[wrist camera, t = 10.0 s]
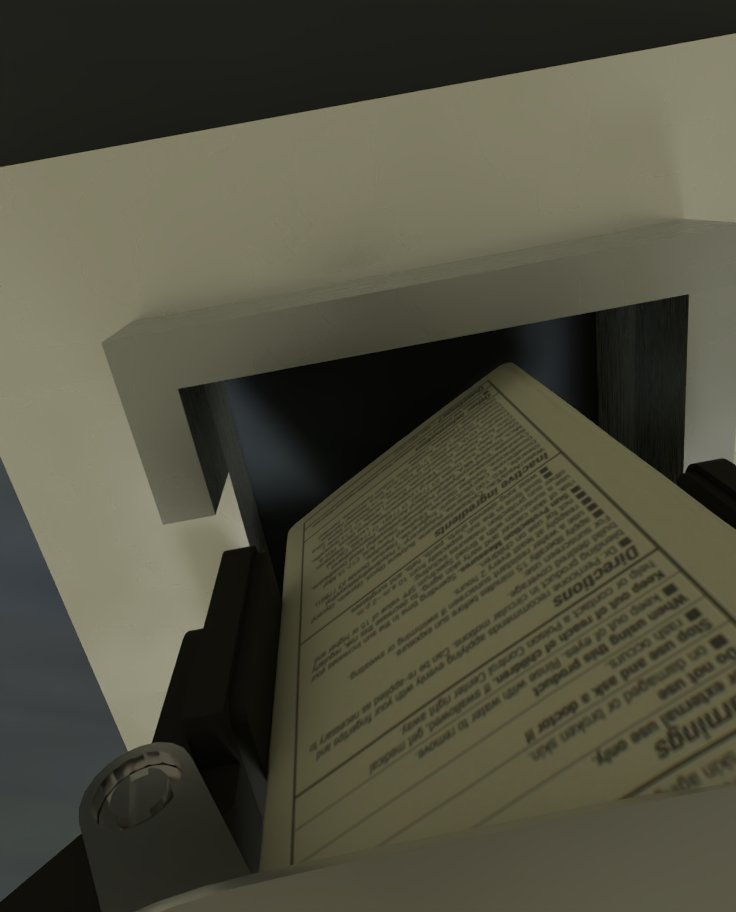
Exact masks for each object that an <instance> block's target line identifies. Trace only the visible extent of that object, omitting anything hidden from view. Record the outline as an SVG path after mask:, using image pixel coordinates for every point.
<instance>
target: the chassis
mask: <svg viewBox="0 0 736 912" xmlns="http://www.w3.org/2000/svg"><path fill="white" fill-rule="evenodd" d="M595 311H596V347H597V386H598V424H599V427H600V428H601V429H602V430H603V431H605V432H606V433H607V434H608V435H610V436H611V437H612V438H614V439H615V440H616V441H618V442H619V443H621V444H622V445H623V446H625V447H626V448H627V449H629V450H630V451H631V452H633V453H634V454H635V455H637V456H638V457H639V458H641V459H642V460H643V461H645V462H646V463H648V464H649V465H650V466H652V467H653V468H654V469H656V470H657V471H658V472H660V473H661V474H662V475H664V476H665V477H666V478H668V479H669V480H670V481H672V482H673V483H674V484H676V485H677V481H678V477H679V475H681V474H682V473H685V471H686V469H687V467H688V466H689V465H690V464H693V463H699V462H704V461H709V460H715V459H720V458H724V459H727V460H729V461H730V462H732V463H733V464H735V465H736V33H735V34H730V35H724V36H719V37H713V38H708V39H702V40H697V41H691V42H686V43H680V44H675V45H669V46H664V47H658V48H653V49H647V50H642V51H636V52H631V53H625V54H620V55H614V56H609V57H603V58H598V59H592V60H587V61H581V62H576V63H570V64H565V65H559V66H554V67H548V68H543V69H537V70H532V71H526V72H521V73H515V74H510V75H504V76H499V77H493V78H488V79H482V80H477V81H471V82H466V83H460V84H455V85H449V86H444V87H438V88H433V89H427V90H422V91H416V92H411V93H405V94H400V95H394V96H389V97H383V98H378V99H372V100H367V101H361V102H356V103H350V104H345V105H340V106H334V107H329V108H323V109H318V110H312V111H307V112H301V113H296V114H290V115H285V116H279V117H274V118H268V119H263V120H257V121H252V122H246V123H241V124H235V125H230V126H224V127H219V128H213V129H208V130H202V131H197V132H191V133H186V134H180V135H175V136H169V137H164V138H158V139H153V140H147V141H142V142H136V143H131V144H125V145H120V146H114V147H109V148H103V149H98V150H92V151H87V152H81V153H76V154H70V155H65V156H59V157H54V158H48V159H43V160H37V161H32V162H26V163H21V164H15V165H10V166H4V167H0V457H1V459H2V461H3V464H4V466H5V468H6V471H7V473H8V475H9V477H10V480H11V482H12V484H13V487H14V489H15V491H16V494H17V496H18V498H19V501H20V503H21V505H22V507H23V510H24V512H25V514H26V517H27V519H28V521H29V524H30V526H31V528H32V531H33V533H34V535H35V537H36V540H37V542H38V544H39V547H40V549H41V551H42V554H43V556H44V558H45V561H46V563H47V565H48V567H49V570H50V572H51V574H52V577H53V579H54V581H55V584H56V586H57V588H58V591H59V593H60V595H61V597H62V600H63V602H64V604H65V607H66V609H67V611H68V614H69V616H70V618H71V621H72V623H73V625H74V627H75V630H76V632H77V634H78V637H79V639H80V641H81V644H82V646H83V648H84V651H85V653H86V655H87V657H88V660H89V662H90V664H91V667H92V669H93V671H94V674H95V676H96V678H97V681H98V683H99V685H100V687H101V690H102V692H103V694H104V697H105V699H106V701H107V704H108V706H109V708H110V711H111V713H112V715H113V717H114V720H115V722H116V724H117V727H118V729H119V731H120V734H121V736H122V738H123V741H124V743H125V745H126V747H127V750H128V751H130V750H132V749H135V748H137V747H139V746H142V745H146V744H151V743H152V740H153V737H154V733H155V730H156V727H157V723H158V720H159V717H160V713H161V710H162V707H163V703H164V700H165V697H166V693H167V690H168V687H169V683H170V680H171V677H172V673H173V670H174V667H175V663H176V660H177V657H178V653H179V650H180V647H181V643H182V640H183V638H184V635H185V633H187V632H188V631H191V630H196V629H201V628H203V627H204V623H205V620H206V616H207V612H208V608H209V604H210V600H211V597H212V593H213V589H214V585H215V581H216V577H217V573H218V570H219V566H220V562H221V558H222V554H223V552H224V551H227V550H232V549H238V548H243V547H248V546H254V545H255V546H256V548H257V550H258V552H265V551H268V553H269V550H268V546H267V543H266V539H265V535H264V531H263V528H262V524H261V520H260V516H259V513H258V509H257V505H256V502H255V498H254V494H253V490H252V487H251V483H250V479H249V475H248V472H247V468H246V464H245V461H244V457H243V453H242V449H241V446H240V442H239V438H238V434H237V431H236V427H235V423H234V419H233V416H232V412H231V408H230V405H229V401H228V397H227V393H226V390H225V386H224V382H223V380H228V379H234V378H239V377H245V376H250V375H255V374H261V373H266V372H271V371H277V370H282V369H288V368H293V367H298V366H304V365H309V364H315V363H320V362H325V361H331V360H336V359H342V358H347V357H352V356H358V355H363V354H369V353H374V352H379V351H385V350H390V349H395V348H401V347H406V346H412V345H417V344H422V343H428V342H433V341H439V340H444V339H449V338H455V337H460V336H466V335H471V334H476V333H482V332H487V331H493V330H498V329H503V328H509V327H514V326H519V325H525V324H530V323H536V322H541V321H546V320H552V319H557V318H563V317H568V316H573V315H579V314H584V313H590V312H595ZM269 555H270V554H269ZM271 562H272V561H271ZM274 573H275V572H274ZM278 588H279V587H278Z"/></svg>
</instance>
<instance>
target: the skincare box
mask: <svg viewBox="0 0 736 912" xmlns="http://www.w3.org/2000/svg"><path fill="white" fill-rule="evenodd" d="M733 783H736V529H734V528H733V527H731V526H730V525H728V524H727V523H726V522H724V521H723V520H721V519H720V518H719V517H717V516H716V515H715V514H713V513H712V512H711V511H710V510H708V509H707V508H706V507H704V506H703V505H702V504H700V503H699V502H698V501H696V500H695V499H694V498H693V497H691V496H690V495H689V494H687V493H686V492H685V491H683V490H682V489H681V488H680V487H678V486H677V485H676V484H674V483H673V482H672V481H670V480H669V479H668V478H666V477H665V476H664V475H662V474H661V473H660V472H658V471H657V470H656V469H654V468H653V467H652V466H650V465H649V464H648V463H646V462H645V461H643V460H642V459H641V458H639V457H638V456H637V455H635V454H634V453H633V452H631V451H630V450H629V449H627V448H626V447H625V446H623V445H622V444H621V443H619V442H618V441H616V440H615V439H614V438H612V437H611V436H610V435H608V434H607V433H606V432H605V431H603V430H602V429H601V428H600V427H598V426H597V425H596V424H594V423H593V422H592V421H590V420H589V419H588V418H586V417H585V416H584V415H582V414H581V413H580V412H579V411H577V410H576V409H575V408H573V407H572V406H571V405H569V404H568V403H567V402H565V401H564V400H563V399H561V398H560V397H559V396H557V395H556V394H555V393H553V392H552V391H550V390H549V389H548V388H546V387H545V386H544V385H542V384H541V383H540V382H538V381H537V380H536V379H534V378H533V377H531V376H530V375H529V374H527V373H526V372H525V371H523V370H522V369H521V368H520V367H518V366H517V365H515V364H514V363H504V364H502V365H500V366H498V367H497V368H496V369H494V370H493V371H492V372H490V373H489V374H488V375H486V376H485V377H483V378H482V379H481V380H479V381H478V382H477V383H475V384H474V385H473V386H472V387H470V388H469V389H468V390H466V391H465V392H463V393H462V394H461V395H459V396H458V397H456V398H455V399H454V400H452V401H451V402H450V403H448V404H447V405H446V406H444V407H443V408H442V409H440V410H439V411H438V412H437V413H435V414H434V415H433V416H431V417H430V418H429V419H427V420H426V421H425V422H423V423H422V424H421V425H419V426H418V427H417V428H416V429H414V430H413V431H412V432H411V433H410V434H408V435H407V436H406V437H404V438H403V439H401V440H400V441H399V442H397V443H396V444H395V445H394V446H392V447H391V448H390V449H389V450H387V451H386V452H385V453H383V454H382V455H381V456H380V457H378V458H377V459H376V460H374V461H373V462H372V463H370V464H369V465H368V466H367V467H365V468H364V469H363V470H362V471H360V472H359V473H358V474H356V475H355V476H354V477H353V478H351V479H350V480H349V481H347V482H346V483H345V484H344V485H342V486H341V487H340V488H338V489H337V490H336V491H335V492H333V493H332V494H331V495H330V496H329V497H327V498H326V499H325V500H324V501H323V502H321V503H320V504H319V505H318V506H317V507H315V508H314V509H313V510H312V511H311V512H309V513H308V514H307V515H306V516H304V517H303V518H302V519H301V520H299V521H298V522H297V523H296V524H295V525H294V526H293V527H292V528H291V529H290V530H289V532H288V537H287V546H286V559H285V570H284V582H283V596H282V610H281V624H280V633H279V645H278V655H277V669H276V681H275V690H274V701H273V712H272V726H271V735H270V747H269V761H268V775H267V787H266V797H265V807H264V818H263V830H262V842H261V855H260V866H259V872H262V871H267V870H272V869H276V868H281V867H286V866H290V865H295V864H300V863H304V862H309V861H314V860H318V859H323V858H328V857H332V856H337V855H342V854H346V853H351V852H356V851H361V850H365V849H370V848H375V847H380V846H385V845H390V844H395V843H400V842H405V841H410V840H415V839H420V838H426V837H431V836H436V835H441V834H446V833H451V832H456V831H461V830H466V829H471V828H477V827H482V826H487V825H492V824H497V823H502V822H507V821H512V820H517V819H522V818H527V817H533V816H538V815H543V814H548V813H553V812H558V811H563V810H569V809H574V808H579V807H584V806H590V805H595V804H600V803H605V802H611V801H616V800H621V799H626V798H632V797H637V796H642V795H648V794H656V793H663V792H671V791H679V790H686V789H694V788H701V787H709V786H717V785H725V784H733Z"/></svg>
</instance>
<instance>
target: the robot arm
mask: <svg viewBox="0 0 736 912" xmlns="http://www.w3.org/2000/svg"><path fill="white" fill-rule="evenodd" d="M677 486H678V487H680V488H681V489H682V490H683V491H685V492H686V493H687V494H689V495H690V496H691V497H693V498H694V499H695V500H696V501H698V502H699V503H700V504H702V505H703V506H704V507H706V508H707V509H708V510H710V511H711V512H712V513H713V514H715V515H716V516H717V517H719V518H720V519H721V520H723V521H724V522H726V523H727V524H728V525H730V526H731V527H733V528H734V529H736V465H735V464H733V463H732V462H730V461H729V460H727V459H724V458H720V459H715V460H709V461H704V462H699V463H693V464H690V465H689V466H688V467H687V469H686V471H685V473H682V474H681V475H679V477H678V481H677ZM281 610H282V599H281V595H280V591H279V588H278V584H277V580H276V576H275V573H274V569H273V565H272V562H271V558H270V555H269V553H268V551H265V552H258V550H257V548H256V546H255V545H254V546H248V547H243V548H238V549H232V550H227V551H224V552H223V554H222V558H221V562H220V566H219V570H218V573H217V577H216V581H215V585H214V589H213V593H212V597H211V600H210V604H209V608H208V612H207V616H206V620H205V623H204V627H203V628H201V629H196V630H191V631H188V632H187V633H185V635H184V638H183V640H182V643H181V647H180V650H179V653H178V657H177V660H176V663H175V667H174V670H173V673H172V677H171V680H170V683H169V687H168V690H167V693H166V697H165V700H164V703H163V707H162V710H161V713H160V717H159V720H158V723H157V727H156V730H155V733H154V737H153V740H152V743H151V744H146V745H142V746H139V747H137V748H135V749H132V750H130V751H128V752H126V753H124V754H122V755H121V756H119V757H118V758H116V759H115V760H113V761H112V762H110V763H109V764H108V765H107V766H106V767H105V768H104V769H103V770H102V771H101V772H100V773H99V774H98V775H97V776H96V777H95V778H94V779H93V781H92V782H91V784H90V785H89V787H88V788H87V790H86V791H85V793H84V795H83V798H82V801H81V804H80V807H79V824H80V828H81V832H82V834H81V835H79V836H78V837H77V838H76V839H75V840H74V841H72V842H71V843H70V844H69V845H68V846H66V847H65V848H64V849H63V850H62V851H60V852H59V853H58V854H57V855H56V856H55V857H53V858H52V859H51V860H50V861H49V862H47V863H46V864H45V865H44V866H43V867H41V868H40V869H39V870H38V871H37V872H35V873H34V874H33V875H32V876H31V877H30V878H28V879H27V880H26V881H25V882H24V883H22V884H21V885H20V886H19V887H18V888H16V889H15V890H14V891H13V892H12V893H11V894H9V895H8V896H7V897H6V898H5V899H3V900H2V901H1V902H0V912H736V783H733V784H725V785H717V786H709V787H701V788H694V789H686V790H679V791H671V792H663V793H656V794H648V795H642V796H637V797H632V798H626V799H621V800H616V801H611V802H605V803H600V804H595V805H590V806H584V807H579V808H574V809H569V810H563V811H558V812H553V813H548V814H543V815H538V816H533V817H527V818H522V819H517V820H512V821H507V822H502V823H497V824H492V825H487V826H482V827H477V828H471V829H466V830H461V831H456V832H451V833H446V834H441V835H436V836H431V837H426V838H420V839H415V840H410V841H405V842H400V843H395V844H390V845H385V846H380V847H375V848H370V849H365V850H361V851H356V852H351V853H346V854H342V855H337V856H332V857H328V858H323V859H318V860H314V861H309V862H304V863H300V864H295V865H290V866H286V867H281V868H276V869H272V870H267V871H262V872H259V866H260V855H261V842H262V830H263V818H264V807H265V797H266V787H267V775H268V761H269V747H270V735H271V726H272V712H273V701H274V690H275V681H276V669H277V655H278V645H279V633H280V624H281Z"/></svg>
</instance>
